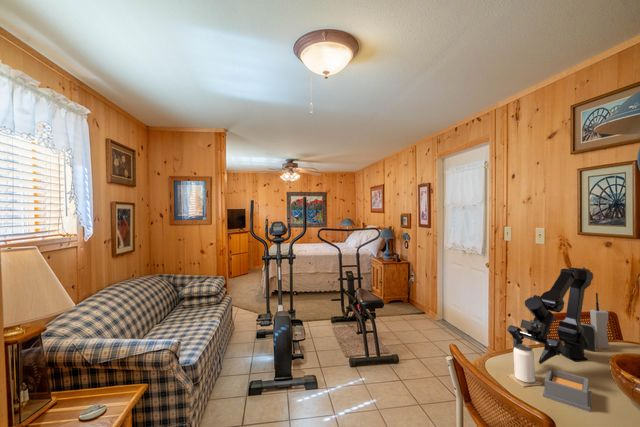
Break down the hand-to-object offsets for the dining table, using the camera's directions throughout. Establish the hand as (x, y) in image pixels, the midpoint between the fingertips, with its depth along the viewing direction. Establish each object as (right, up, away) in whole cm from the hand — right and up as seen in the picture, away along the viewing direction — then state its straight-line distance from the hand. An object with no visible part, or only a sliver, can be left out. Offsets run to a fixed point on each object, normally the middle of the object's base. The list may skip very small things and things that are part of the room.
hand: (526, 357), depth 110 cm
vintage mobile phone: (+51, -6, +22) cm, 56 cm away
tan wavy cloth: (-2, -8, -1) cm, 8 cm away
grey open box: (+6, -7, -11) cm, 15 cm away
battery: (+43, -7, +21) cm, 48 cm away
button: (+6, -6, -11) cm, 14 cm away
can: (-1, -8, -1) cm, 8 cm away
